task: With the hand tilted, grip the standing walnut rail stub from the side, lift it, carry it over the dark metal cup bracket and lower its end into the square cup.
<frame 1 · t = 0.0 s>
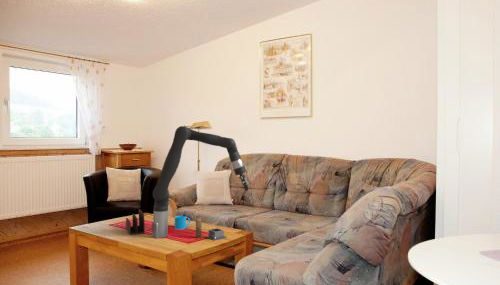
hand: (247, 189, 249), 31 cm above the table, tool tilted 20°, fingers open, 8 cm apart
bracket: (216, 237, 247), on the table
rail: (198, 237, 246), on the table
letter holder: (134, 231, 262), on the table
mug: (182, 227, 273), on the table
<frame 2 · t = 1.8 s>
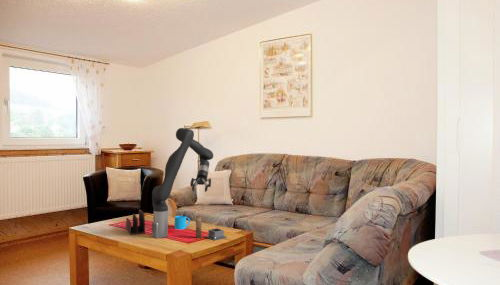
hand: (199, 190, 260), 29 cm above the table, tool tilted 45°, fingers open, 8 cm apart
nothing on the table moved.
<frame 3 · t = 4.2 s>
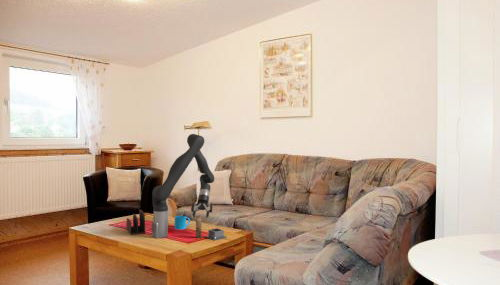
hand: (200, 216, 252), 12 cm above the table, tool tilted 45°, fingers open, 8 cm apart
nothing on the table moved.
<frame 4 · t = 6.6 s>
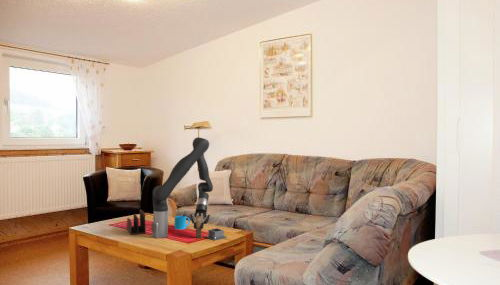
hand: (198, 228, 244), 7 cm above the table, tool tilted 45°, fingers closed on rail, 3 cm apart
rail: (198, 237, 246), on the table, touching gripper
everything else where it was.
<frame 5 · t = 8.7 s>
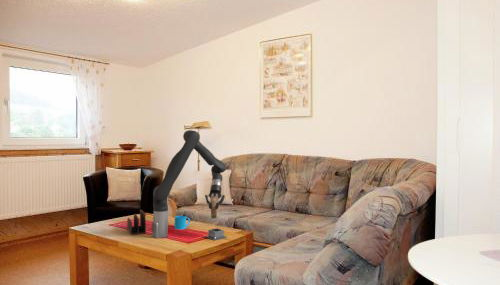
hand: (213, 208, 245), 19 cm above the table, tool tilted 45°, fingers closed on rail, 3 cm apart
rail: (213, 217, 247), point 13 cm above the table, touching gripper
everything else where it was.
when the fingers open (9 cm above the table, at t = 11.2 s): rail drops 1 cm, resting on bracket.
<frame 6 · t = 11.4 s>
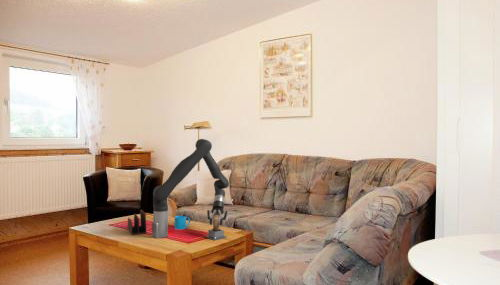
hand: (215, 224, 245), 9 cm above the table, tool tilted 45°, fingers open, 5 cm apart
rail: (216, 236, 247), point 1 cm above the table, touching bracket
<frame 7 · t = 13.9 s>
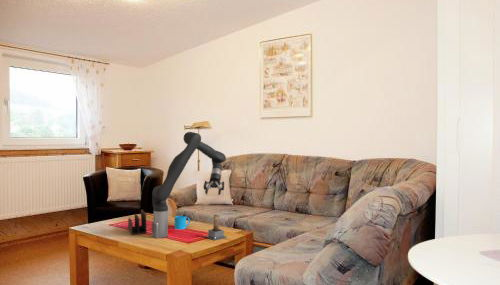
hand: (212, 194, 259), 27 cm above the table, tool tilted 45°, fingers open, 8 cm apart
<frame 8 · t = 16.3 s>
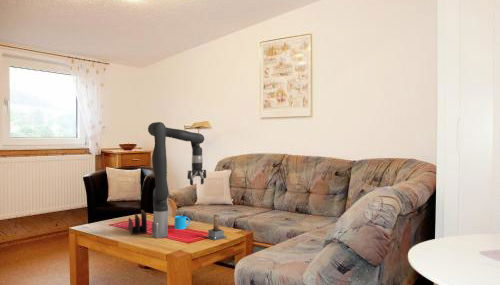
hand: (196, 184, 266), 32 cm above the table, tool pointing down, fingers open, 8 cm apart
at the end: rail 0.1 cm off-centre on the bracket, point 0.8 cm above the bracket's base; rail tilted 0°; the gripper is holding nothing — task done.
